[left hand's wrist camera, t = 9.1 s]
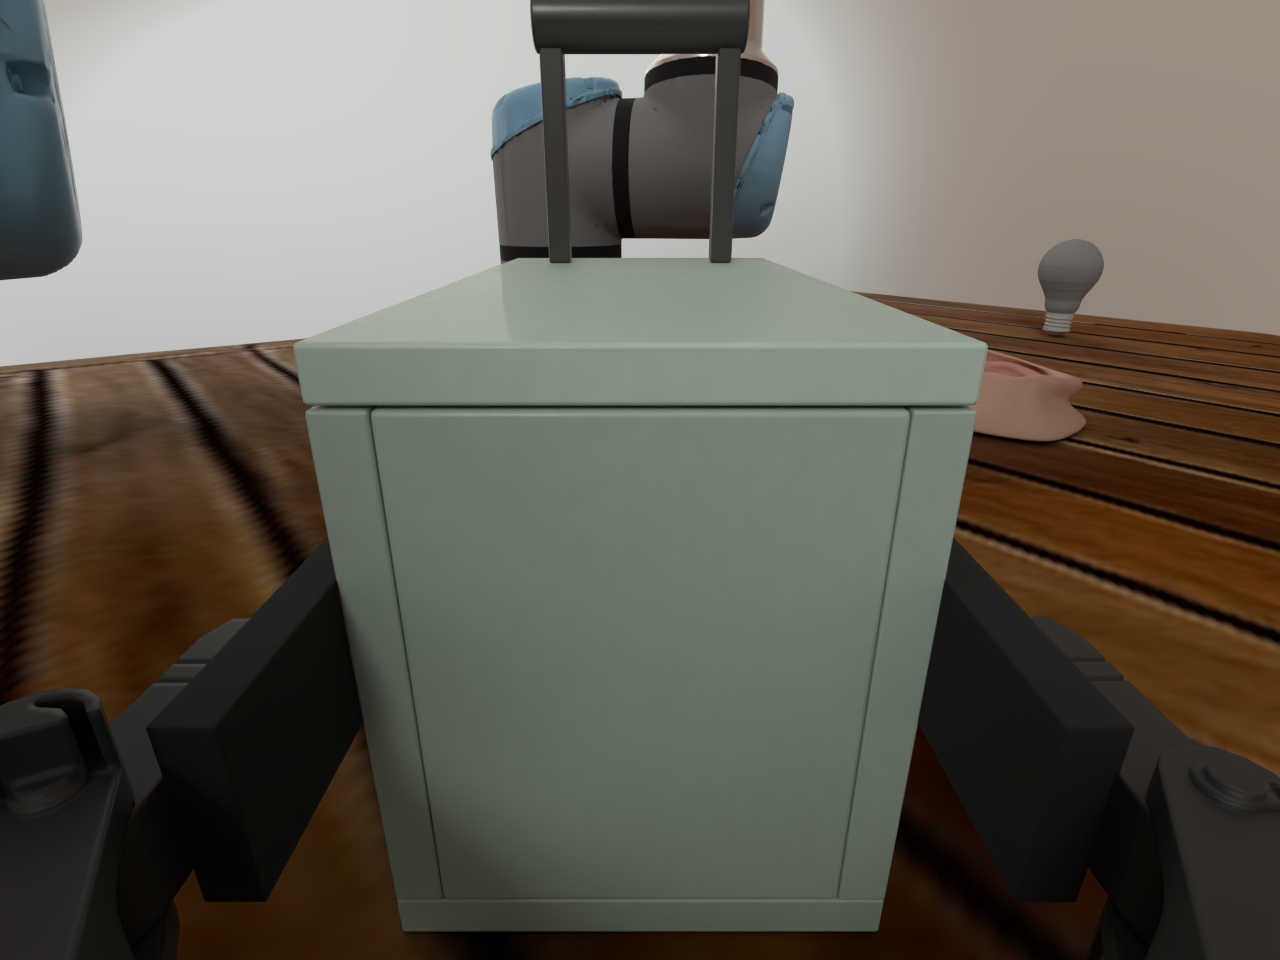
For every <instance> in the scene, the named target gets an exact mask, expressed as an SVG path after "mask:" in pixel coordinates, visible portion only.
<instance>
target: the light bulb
mask: <svg viewBox="0 0 1280 960" xmlns="http://www.w3.org/2000/svg"><path fill="white" fill-rule="evenodd" d="M1103 268H1104V261H1103V257H1102V254H1101V252H1100V251H1099V250H1098V248H1097V247H1096V246H1095V245H1094V244H1092V243H1090V242H1088V241H1084V240H1080V239H1073V240H1068V241H1064V242H1061V243H1059V244H1057V245H1056V246H1054V247H1053V248H1051V249H1050V250H1049V251H1048V252H1047V253H1046V254H1045V255H1044V257H1043V258H1042V260H1041V262H1040V264H1039V268H1038V278H1039V281H1040V284H1041V287H1042V289H1043V292H1044V295H1045V308H1046V317H1047V318H1046V319H1045V320H1047V321H1046V322H1044V324H1046V325H1045V326H1043V329H1044V330H1045V331H1047V332H1049V334H1054V335H1061V334H1064V333H1066V332H1069V331H1070V329H1069V327H1071V326H1070V323H1072V322H1070V321H1071V320H1072V319H1073V316H1074V313H1075V312H1076V311H1077V310H1078V308H1079V306H1080V303H1081V301H1082V299H1083V298H1084V297H1085V295H1086V294H1087V293H1088V292H1089V291H1090V290H1091V289H1092V287H1093V286H1094V285H1095V284H1096V283H1097V281H1098V280H1099V278H1100V276H1101V274H1102V271H1103Z"/></svg>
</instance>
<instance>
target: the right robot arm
mask: <svg viewBox="0 0 1280 960" xmlns="http://www.w3.org/2000/svg"><path fill="white" fill-rule="evenodd" d="M763 18H764V0H750V22H749V32H748V40H747V45H746V49H745V51H744V53H742V54H741V62H740V83H739V104H738V125H737V146H736V167H735V188H734V209H733V230H732V238H751V237H755V236H758V235H760V234H761V233H763V232H764V231H765V230H766V229H767V227H768V226H769V224H770V222H771V219H772V215H773V212H774V208H775V204H776V199H777V195H778V189H779V185H780V180H781V175H782V170H783V165H784V160H785V155H786V149H787V144H788V138H789V133H790V127H791V120H792V110H793V107H794V100H793V98H792V97H791V96H788V95H786V94H785V93H779V94H778V95H777V86H778V70H777V68H776V66H775V65H774V64H773V63H772V62H771V61H770V60H769V59H768V58H767V56H766V55H765V54H764V53H763V51H762V36H763ZM715 71H716V54H661V55H660V56H659V57H658V58H657V59H656V60H655V61H654V62H653V63H652V64H651V65H650V66H649V68H648V69H647V70H646V72H645V93H644V97H642V98H629V99H622V92H621V90H620V89H619V85H618V84H617V82H616V81H614V80H611V79H608V78H601V77H591V78H584V79H582V78H580V77H579V78H566V79H565V83H566V111H567V139H568V167H569V196H570V224H571V252H572V258H621V239H622V238H675V239H676V238H677V239H710V211H711V183H712V155H713V127H714V99H715ZM492 141H493V148H492V150H491V158H492V160H493V167H494V180H495V193H496V205H497V218H498V230H499V243H500V256H501V264H504V263H506V262H509V261H512V260H514V259H517V258H549V242H548V221H547V200H546V178H545V157H544V136H543V115H542V94H541V83H537V84H532V85H528V86H525V87H522V88H518V89H516V90H513V91H511V92H509V93H508V94H506V95H504V96H503V97H502V98H500V99H499V101H498V102H497V103H496V105H495V107H494V109H493V113H492Z"/></svg>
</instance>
